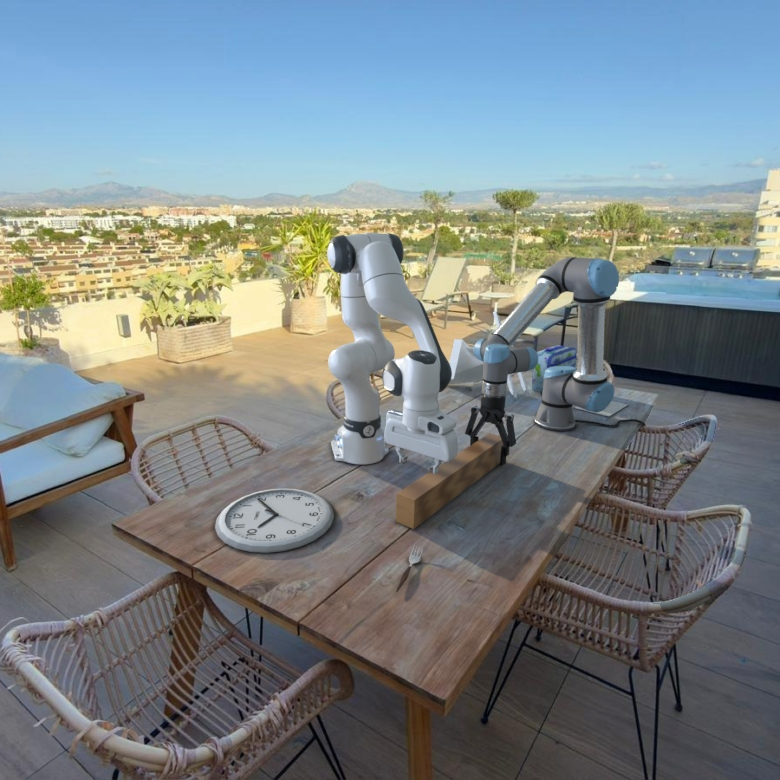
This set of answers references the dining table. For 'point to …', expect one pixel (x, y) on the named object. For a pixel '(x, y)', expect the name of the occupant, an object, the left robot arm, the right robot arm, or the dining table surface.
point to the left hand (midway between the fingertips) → (418, 467)
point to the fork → (413, 560)
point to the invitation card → (608, 408)
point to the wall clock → (274, 520)
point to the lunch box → (551, 363)
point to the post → (447, 481)
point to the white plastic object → (475, 365)
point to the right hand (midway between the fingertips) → (488, 460)
